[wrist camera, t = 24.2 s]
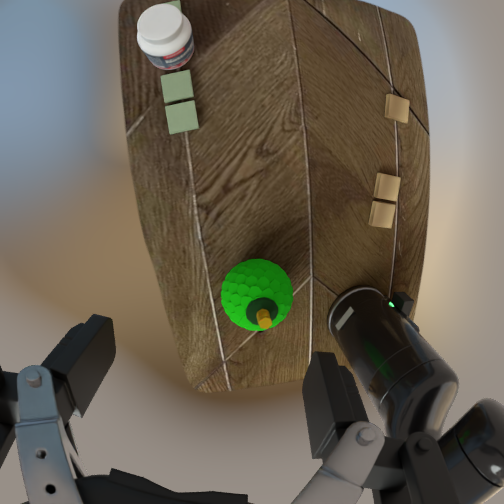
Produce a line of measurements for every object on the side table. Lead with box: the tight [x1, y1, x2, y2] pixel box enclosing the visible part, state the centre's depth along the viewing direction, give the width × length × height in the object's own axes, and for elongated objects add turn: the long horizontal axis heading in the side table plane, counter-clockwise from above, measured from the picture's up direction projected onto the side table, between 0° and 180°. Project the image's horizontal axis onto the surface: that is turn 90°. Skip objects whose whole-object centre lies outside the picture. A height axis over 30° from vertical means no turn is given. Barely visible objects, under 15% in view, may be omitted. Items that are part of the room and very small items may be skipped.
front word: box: [161, 0, 199, 134], centre depth 27 cm, size 3×17×1 cm, turn 9°
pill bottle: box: [137, 4, 194, 70], centre depth 23 cm, size 5×5×9 cm
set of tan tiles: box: [369, 94, 409, 228], centre depth 34 cm, size 3×18×1 cm, turn 173°
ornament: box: [221, 259, 293, 331], centre depth 33 cm, size 8×8×10 cm
